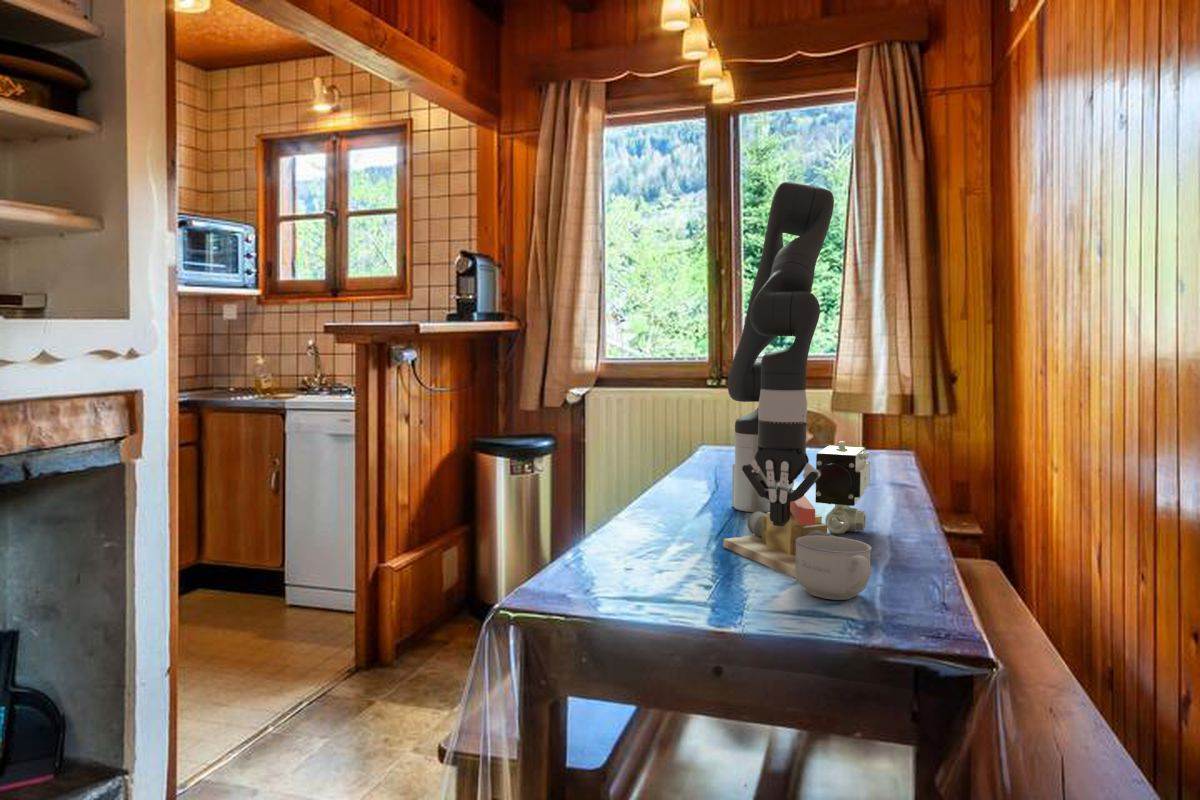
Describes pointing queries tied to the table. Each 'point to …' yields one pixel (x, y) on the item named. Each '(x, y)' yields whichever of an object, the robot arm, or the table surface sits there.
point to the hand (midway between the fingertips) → (779, 524)
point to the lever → (803, 511)
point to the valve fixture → (774, 541)
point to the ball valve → (842, 485)
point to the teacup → (832, 566)
